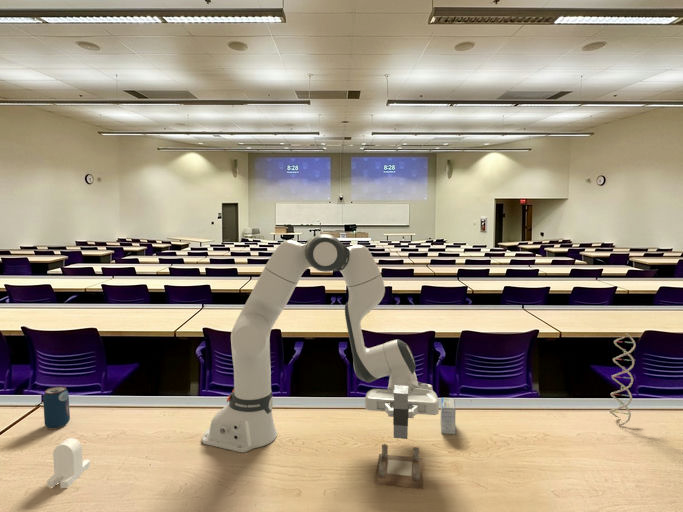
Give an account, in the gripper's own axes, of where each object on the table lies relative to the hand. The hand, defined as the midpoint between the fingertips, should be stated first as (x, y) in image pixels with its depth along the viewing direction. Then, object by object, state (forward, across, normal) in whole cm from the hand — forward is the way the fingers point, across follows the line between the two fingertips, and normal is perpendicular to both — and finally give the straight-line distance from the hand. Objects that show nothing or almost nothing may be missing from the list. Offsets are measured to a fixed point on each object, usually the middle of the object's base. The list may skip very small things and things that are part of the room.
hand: (400, 414), depth 113 cm
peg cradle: (-1, 0, +16) cm, 17 cm away
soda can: (-8, -112, +16) cm, 113 cm away
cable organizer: (+16, -86, +16) cm, 89 cm away
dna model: (-42, +71, +17) cm, 84 cm away
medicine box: (-28, +14, +17) cm, 36 cm away
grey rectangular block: (-1, 0, +6) cm, 6 cm away
